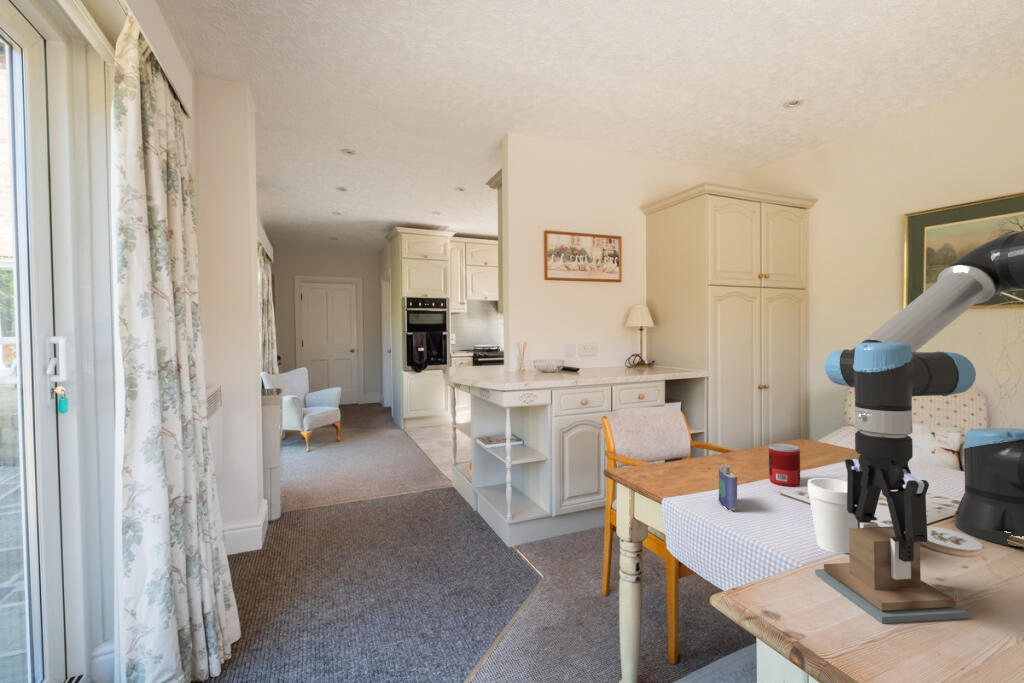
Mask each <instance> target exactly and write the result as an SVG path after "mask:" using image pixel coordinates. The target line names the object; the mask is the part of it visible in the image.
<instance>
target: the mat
mask: <svg viewBox="0 0 1024 683" xmlns="http://www.w3.org/2000/svg"><path fill="white" fill-rule="evenodd" d="M814 573H815V574H816V575H817V576H816V575H815V574H814V575H815V576H816V577H818V576H819V577H820V578H821V580H822V579H823V580H824V581H825V582H824V581H823V580H822V581H823V582H824V583H826V584H827V585H829V586H830V587H832V589H834V590H836V591H837V592H838V593H840V594H841V595H842V596H843V597H845V598H846V599H848V600H849V601H850V602H852V603H853V604H855V605H856V606H858V608H860V609H861V610H863V612H865V613H868V615H870V616H871V617H873V619H875V620H877V621H878V622H879V623H881V624H893V623H896V624H897V623H909V622H910V623H913V622H915V623H916V622H928V621H929V622H930V621H944V620H945V621H947V620H964V619H965V620H966V619H968V616H969V615H968V611H966V610H965V609H963V608H961V607H959V606H958V605H956V604H954V607H939V608H921V609H904V610H887V611H882V610H880V609H879V608H877V607H876V606H874V605H873V604H872V603H870V602H869V601H867V600H866V599H864V598H863V597H861V596H860V595H859V594H857V593H856V592H854V591H853V590H851V589H850V588H848V587H847V586H846V585H844V584H843V583H841V582H840V581H838V580H837V579H836V578H834V577H833V576H831V575H830V574H828V573H827V572H825V571H824V568H820V569H819V568H817V569H814ZM819 577H818V578H819ZM820 578H819V579H820Z"/></svg>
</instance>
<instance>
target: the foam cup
mask: <svg viewBox="0 0 1024 683" xmlns="http://www.w3.org/2000/svg"><path fill="white" fill-rule="evenodd" d="M807 494H808V497H809V504H810V508H811V513H812V514H811V515H812V521H813V528H814V533H815V534H814V535H815V540H816V544H817V546H819V548H821V549H823V550H825V551H828V552H832V553H834V554H839V555H841V554H842V555H846V554H845V553H849V552H850V549H849V528H858V520H856V518H855V515H854V514H852V513H849V512H848V511H847V480H842V479H838V478H831V477H830V478H829V477H813V478H809V479H807ZM855 506H857V505H855Z"/></svg>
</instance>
